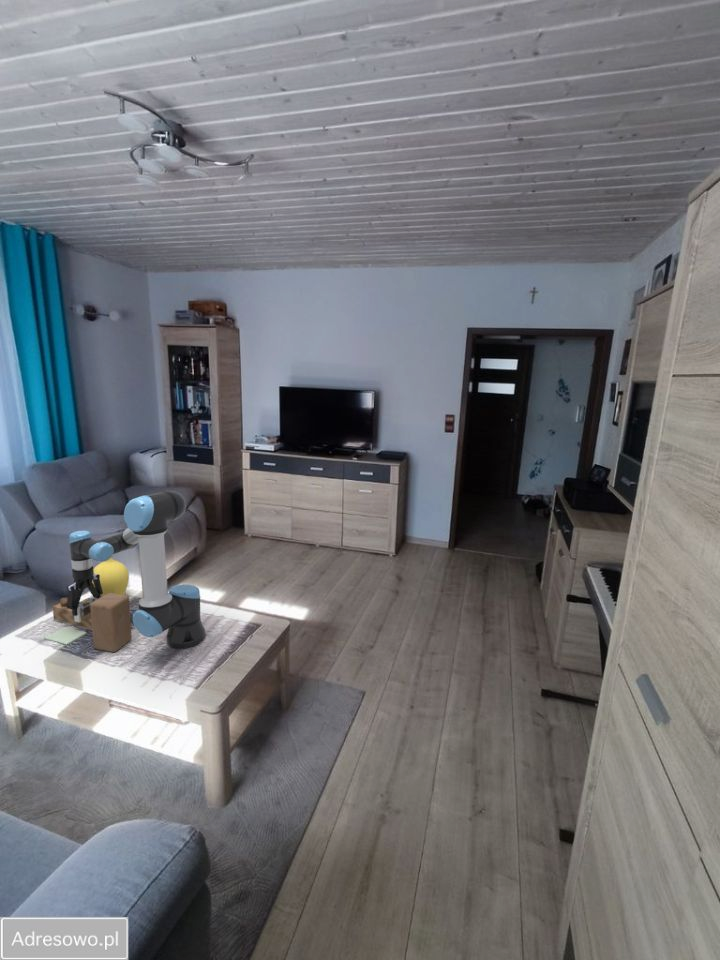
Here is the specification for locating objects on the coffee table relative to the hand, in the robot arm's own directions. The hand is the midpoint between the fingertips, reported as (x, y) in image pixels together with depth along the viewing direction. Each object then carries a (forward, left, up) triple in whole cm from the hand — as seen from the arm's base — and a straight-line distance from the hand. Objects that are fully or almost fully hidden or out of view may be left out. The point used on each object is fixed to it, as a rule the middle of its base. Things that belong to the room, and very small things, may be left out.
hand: (86, 616), depth 185 cm
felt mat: (+1, +10, -4) cm, 10 cm away
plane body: (+3, 0, -4) cm, 5 cm away
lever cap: (0, 0, +3) cm, 3 cm away
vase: (+9, -21, -4) cm, 23 cm away
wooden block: (-21, +7, -4) cm, 23 cm away
